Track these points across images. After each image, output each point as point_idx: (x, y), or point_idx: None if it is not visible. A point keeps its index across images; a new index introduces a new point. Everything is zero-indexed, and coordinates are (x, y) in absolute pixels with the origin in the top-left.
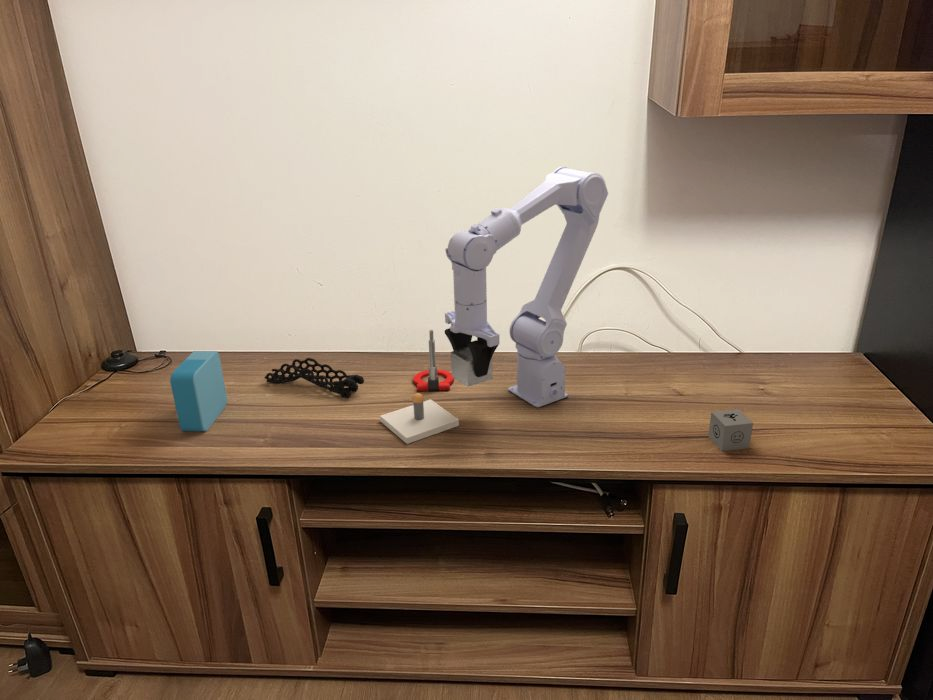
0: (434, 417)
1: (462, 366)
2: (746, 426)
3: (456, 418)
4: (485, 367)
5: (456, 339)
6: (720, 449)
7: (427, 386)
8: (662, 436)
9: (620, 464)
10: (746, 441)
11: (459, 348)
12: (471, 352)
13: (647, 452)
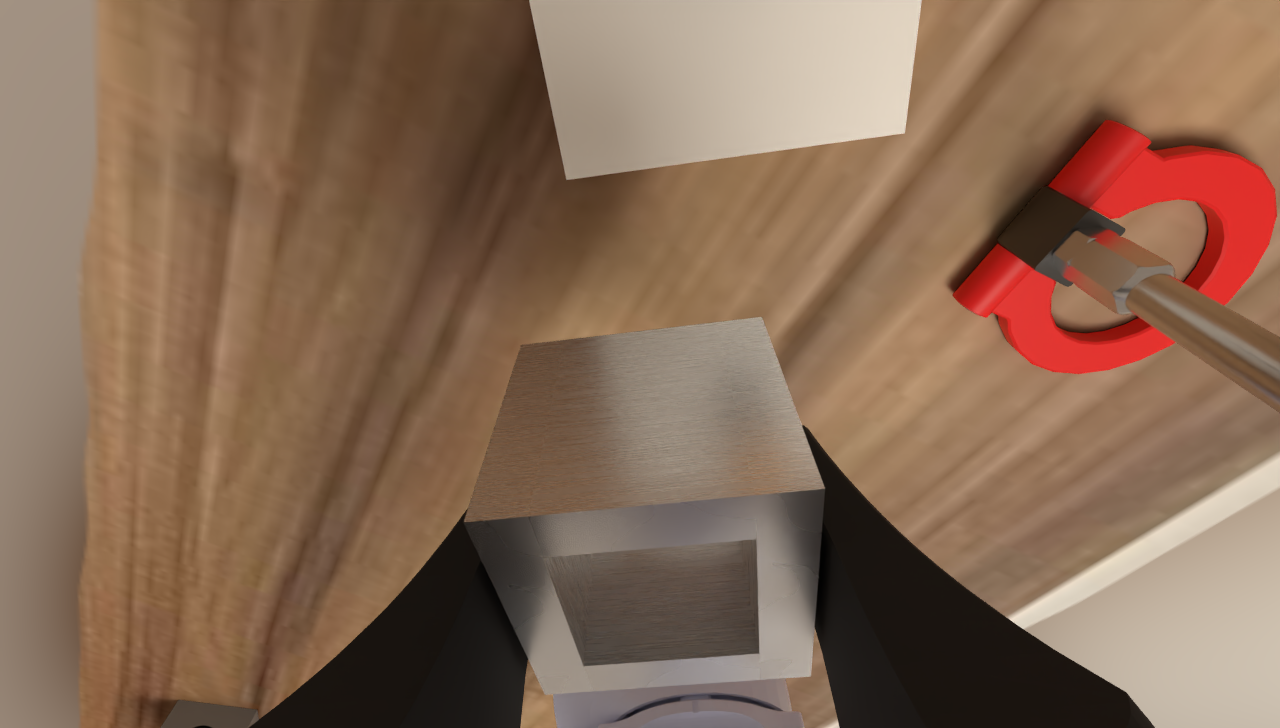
0: (666, 43)
1: (574, 442)
2: None
3: (588, 173)
4: None
5: (878, 682)
6: (184, 702)
7: (1068, 191)
8: (274, 657)
9: (110, 532)
10: None
11: (829, 576)
12: (422, 663)
13: (185, 604)
